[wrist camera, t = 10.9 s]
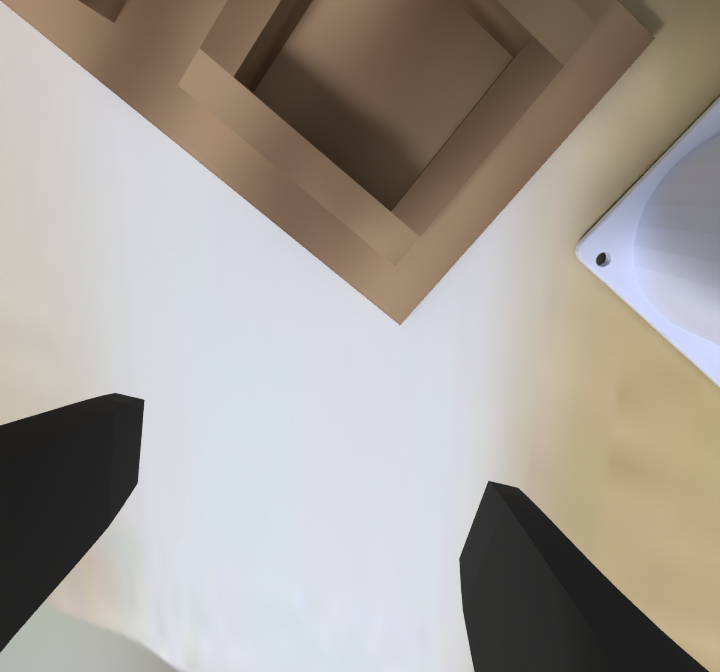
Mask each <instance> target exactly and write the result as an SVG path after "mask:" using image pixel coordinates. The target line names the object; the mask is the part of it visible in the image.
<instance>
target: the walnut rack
mask: <svg viewBox="0 0 720 672" xmlns="http://www.w3.org/2000/svg"><path fill="white" fill-rule="evenodd" d="M1 1H2V2H3V3H4V4H6V5H7V6H8V7H9V8H10V9H12V10H13V11H14V12H15V13H17V14H18V15H19V16H20V17H22V18H23V19H24V20H25V21H26V22H28V23H29V24H30V25H31V26H33V27H34V28H35V29H36V30H38V31H39V32H40V33H41V34H42V35H44V36H45V37H46V38H47V39H49V40H50V41H51V42H52V43H53V44H55V45H56V46H57V47H58V48H60V49H61V50H62V51H63V52H65V53H66V54H67V55H68V56H69V57H71V58H72V59H73V60H74V61H76V62H77V63H78V64H79V65H81V66H82V67H83V68H84V69H85V70H87V71H88V72H89V73H90V74H92V75H93V76H94V77H95V78H97V79H98V80H99V81H100V82H101V83H103V84H104V85H105V86H106V87H108V88H109V89H110V90H111V91H113V92H114V93H115V94H116V95H117V96H119V97H120V98H121V99H122V100H124V101H125V102H126V103H127V104H129V105H130V106H131V107H132V108H133V109H135V110H136V111H137V112H138V113H140V114H141V115H142V116H143V117H145V118H146V119H147V120H148V121H149V122H151V123H152V124H153V125H154V126H156V127H157V128H158V129H159V130H160V131H162V132H163V133H164V134H165V135H167V136H168V137H169V138H170V139H172V140H173V141H174V142H175V143H176V144H178V145H179V146H180V147H181V148H183V149H184V150H185V151H186V152H188V153H189V154H190V155H191V156H192V157H194V158H195V159H196V160H197V161H199V162H200V163H201V164H202V165H204V166H205V167H206V168H207V169H208V170H210V171H211V172H212V173H213V174H215V175H216V176H217V177H218V178H220V179H221V180H222V181H223V182H224V183H226V184H227V185H228V186H229V187H231V188H232V189H233V190H234V191H236V192H237V193H238V194H239V195H240V196H242V197H243V198H244V199H245V200H247V201H248V202H249V203H250V204H252V205H253V206H254V207H255V208H256V209H258V210H259V211H260V212H261V213H263V214H264V215H265V216H266V217H267V218H269V219H270V220H271V221H272V222H274V223H275V224H276V225H277V226H279V227H280V228H281V229H282V230H283V231H285V232H286V233H287V234H288V235H290V236H291V237H292V238H293V239H295V240H296V241H297V242H298V243H299V244H301V245H302V246H303V247H304V248H306V249H307V250H308V251H309V252H311V253H312V254H313V255H314V256H315V257H317V258H318V259H319V260H320V261H322V262H323V263H324V264H325V265H327V266H328V267H329V268H330V269H331V270H333V271H334V272H335V273H336V274H338V275H339V276H340V277H341V278H343V279H344V280H345V281H346V282H347V283H349V284H350V285H351V286H352V287H354V288H355V289H356V290H357V291H359V292H360V293H361V294H362V295H363V296H365V297H366V298H367V299H368V300H370V301H371V302H372V303H373V304H374V305H376V306H377V307H378V308H379V309H381V310H382V311H383V312H384V313H386V314H387V315H388V316H389V317H390V318H392V319H393V320H394V321H395V322H397V323H398V324H399V325H401V324H402V323H403V321H404V320H405V319H406V318H407V317H408V316H409V315H410V314H411V312H412V311H413V310H414V309H415V308H416V307H417V306H418V305H419V303H420V302H421V301H422V300H423V299H424V298H425V297H426V296H427V294H428V293H429V292H430V291H431V290H432V289H433V288H434V287H435V285H436V284H437V283H438V282H439V281H440V280H441V279H442V278H443V276H444V275H445V274H446V273H447V272H448V271H449V270H450V269H451V267H452V266H453V265H454V264H455V263H456V262H457V261H458V260H459V258H460V257H461V256H462V255H463V254H464V253H465V252H466V251H467V249H468V248H469V247H470V246H471V245H472V244H473V243H474V242H475V240H476V239H477V238H478V237H479V236H480V235H481V234H482V233H483V231H484V230H485V229H486V228H487V227H488V226H489V225H490V224H491V222H492V221H493V220H494V219H495V218H496V217H497V216H498V215H499V213H500V212H501V211H502V210H503V209H504V208H505V207H506V206H507V204H508V203H509V202H510V201H511V200H512V199H513V198H514V197H515V195H516V194H517V193H518V192H519V191H520V190H521V189H522V188H523V186H524V185H525V184H526V183H527V182H528V181H529V180H530V179H531V177H532V176H533V175H534V174H535V173H536V172H537V171H538V170H539V168H540V167H541V166H542V165H543V164H544V163H545V162H546V160H547V159H548V158H549V157H550V156H551V155H552V154H553V153H554V151H555V150H556V149H557V148H558V147H559V146H560V145H561V144H562V142H563V141H564V140H565V139H566V138H567V137H568V136H569V135H570V133H571V132H572V131H573V130H574V129H575V128H576V127H577V126H578V124H579V123H580V122H581V121H582V120H583V119H584V118H585V117H586V115H587V114H588V113H589V112H590V111H591V110H592V109H593V108H594V106H595V105H596V104H597V103H598V102H599V101H600V100H601V99H602V97H603V96H604V95H605V94H606V93H607V92H608V91H609V90H610V88H611V87H612V86H613V85H614V84H615V83H616V82H617V81H618V79H619V78H620V77H621V76H622V75H623V74H624V73H625V72H626V70H627V69H628V68H629V67H630V66H631V65H632V64H633V63H634V61H635V60H636V59H637V58H638V57H639V56H640V55H641V54H642V52H643V51H644V50H645V49H646V48H647V47H648V46H649V45H650V43H651V42H652V41H653V40H654V39H655V38H654V37H653V36H652V35H651V34H650V33H649V32H648V31H647V30H646V29H645V28H644V27H643V26H642V25H641V24H640V22H639V21H638V20H637V19H636V18H635V17H634V16H633V15H632V14H631V13H630V12H629V11H628V10H627V9H626V8H625V7H624V6H623V5H622V4H621V3H620V2H619V1H618V0H1Z"/></svg>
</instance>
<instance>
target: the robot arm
mask: <svg viewBox="0 0 720 672" xmlns="http://www.w3.org/2000/svg"><path fill="white" fill-rule="evenodd" d="M575 252H576V256H577V258H578V259H579V260H580V261H581V262H582V263H583V264H584V265H585V266H586V267H587V268H588V269H589V270H591V271H592V272H593V273H594V274H595V275H596V276H597V277H598V278H599V279H600V280H602V281H603V282H604V283H605V284H606V285H607V286H608V287H609V288H610V289H611V290H613V291H614V292H615V293H616V294H617V295H618V296H619V297H620V298H621V299H623V300H624V301H625V302H626V303H627V304H628V305H629V306H630V307H631V308H632V309H634V310H635V311H636V312H637V313H638V314H639V315H640V316H641V317H642V318H643V319H645V320H646V321H647V322H648V323H649V324H650V325H651V326H652V327H653V328H655V329H656V330H657V331H658V332H659V333H660V334H661V335H662V336H663V337H664V338H666V339H667V340H668V341H669V342H670V343H671V344H672V345H673V346H674V347H675V348H677V349H678V350H679V351H680V352H681V353H682V354H683V355H684V356H685V357H686V358H688V359H689V360H690V361H691V362H692V363H693V364H694V365H695V366H696V367H698V368H699V369H700V370H701V371H702V372H703V373H704V374H705V375H706V376H707V377H709V378H710V379H711V380H712V381H713V382H714V383H715V384H716V385H717V386H718V387H720V97H719V98H718V99H717V100H716V101H715V102H714V103H713V104H712V105H711V106H710V107H709V108H708V109H707V110H706V111H705V112H704V113H703V114H702V115H701V116H700V117H699V118H698V119H697V120H696V121H695V122H694V124H693V125H692V126H691V127H690V128H689V129H688V130H687V131H686V132H685V133H684V134H683V135H682V136H681V137H680V138H679V139H678V140H677V141H676V142H675V143H674V144H673V145H672V146H671V147H670V148H669V149H668V150H667V151H666V152H665V153H664V154H663V155H662V157H661V158H660V159H659V160H658V161H657V162H656V163H655V164H654V165H653V166H652V167H651V168H650V169H649V170H648V171H647V172H646V173H645V174H644V175H643V176H642V177H641V178H640V179H639V180H638V181H637V182H636V183H635V184H634V185H633V186H632V187H631V188H630V190H629V191H628V192H627V193H626V194H625V195H624V196H623V197H622V198H621V199H620V200H619V201H618V202H617V203H616V204H615V205H614V206H613V207H612V208H611V209H610V210H609V211H608V212H607V213H606V214H605V215H604V216H603V217H602V218H601V219H600V220H599V221H598V223H597V224H596V225H595V226H594V227H593V228H592V229H591V230H590V231H589V232H588V233H587V234H586V235H585V236H584V237H583V238H582V239H581V240H580V241H579V243H578V244H577V246H576V250H575ZM602 252H604V253H605V254H606V260H605V262H604V263H603V264H601V265H597V263H596V258H597V256H598V255H599V254H600V253H602ZM143 411H144V400H143V399H139V398H134V397H130V396H126V395H122V394H117V393H113V394H108V395H104V396H99V397H96V398H92V399H88V400H85V401H81V402H78V403H74V404H71V405H67V406H64V407H61V408H57V409H54V410H51V411H48V412H44V413H41V414H37V415H34V416H31V417H27V418H24V419H21V420H17V421H14V422H11V423H7V424H4V425H1V426H0V652H1V651H2V650H3V649H4V647H5V646H6V645H7V644H8V643H9V641H10V640H11V639H12V638H13V636H14V635H15V634H16V633H17V632H18V631H19V629H20V628H21V627H22V626H23V625H24V624H25V623H26V621H27V620H28V619H29V618H30V617H31V616H32V615H33V613H34V612H35V611H36V610H37V609H38V608H39V607H40V605H41V604H42V603H43V602H44V601H45V600H46V599H47V597H48V596H49V595H50V594H51V593H52V592H53V591H54V589H55V588H56V587H57V586H58V585H59V584H60V583H61V581H62V580H63V579H64V578H65V577H66V576H67V575H68V573H69V572H70V571H71V570H72V569H73V568H74V567H75V565H76V564H77V563H78V562H79V561H80V560H81V558H82V557H83V556H84V555H85V554H86V553H87V551H88V550H89V549H90V548H91V547H92V546H93V545H94V543H95V542H96V541H97V540H98V539H99V537H100V536H101V535H102V534H103V533H104V532H105V530H106V529H107V528H108V527H109V525H110V524H111V522H112V521H113V519H114V518H115V517H116V515H117V514H118V512H119V511H120V509H121V508H122V507H123V505H124V503H125V502H126V500H127V499H128V497H129V496H130V494H131V493H132V491H133V490H134V488H135V487H136V485H137V483H138V472H139V460H140V448H141V436H142V423H143ZM459 561H460V578H461V593H462V605H463V613H464V619H465V624H466V630H467V635H468V640H469V646H470V651H471V656H472V661H473V666H474V671H475V672H709V671H708V670H706V669H705V668H704V667H703V666H702V665H701V664H699V663H698V662H697V661H696V660H695V659H693V658H692V657H691V656H690V655H689V654H688V653H686V652H685V651H684V650H683V649H682V648H681V647H680V646H678V645H677V644H676V643H675V642H674V641H673V640H672V639H671V638H669V637H668V636H667V635H666V634H665V633H664V632H663V631H662V630H661V629H659V628H658V627H657V626H656V625H655V624H654V623H653V622H652V621H651V620H650V619H649V618H648V617H647V616H646V615H645V614H644V613H642V612H641V611H640V610H639V609H638V608H637V607H636V606H635V605H634V604H633V603H632V602H631V601H630V600H629V599H628V598H627V597H626V596H625V595H623V594H622V593H621V592H620V591H619V590H618V589H617V588H616V587H615V586H614V585H613V584H612V583H611V582H610V581H609V580H608V579H607V578H606V577H605V576H604V575H603V574H602V573H601V572H600V571H599V570H598V569H597V568H596V567H595V566H594V565H593V564H592V563H591V562H590V561H589V560H588V559H587V558H586V557H585V555H584V554H583V553H582V552H581V551H580V550H579V549H578V548H577V547H576V546H575V545H574V544H573V543H572V542H571V541H570V540H569V539H568V538H567V537H566V536H565V535H564V534H563V533H562V532H561V531H560V529H559V528H558V527H557V526H556V525H555V524H554V523H553V522H552V521H551V520H550V519H549V518H548V517H547V516H546V515H545V514H544V513H543V512H542V511H541V510H540V509H539V508H538V507H537V506H536V505H535V504H534V503H533V502H532V501H531V500H530V499H529V498H528V497H527V496H526V495H525V494H524V493H523V492H522V491H521V490H520V489H519V488H516V487H512V486H508V485H504V484H499V483H495V482H491V481H488V484H487V486H486V489H485V492H484V494H483V497H482V500H481V502H480V505H479V508H478V510H477V513H476V516H475V518H474V521H473V524H472V526H471V529H470V532H469V534H468V537H467V540H466V542H465V545H464V548H463V550H462V553H461V556H460V558H459Z"/></svg>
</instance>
